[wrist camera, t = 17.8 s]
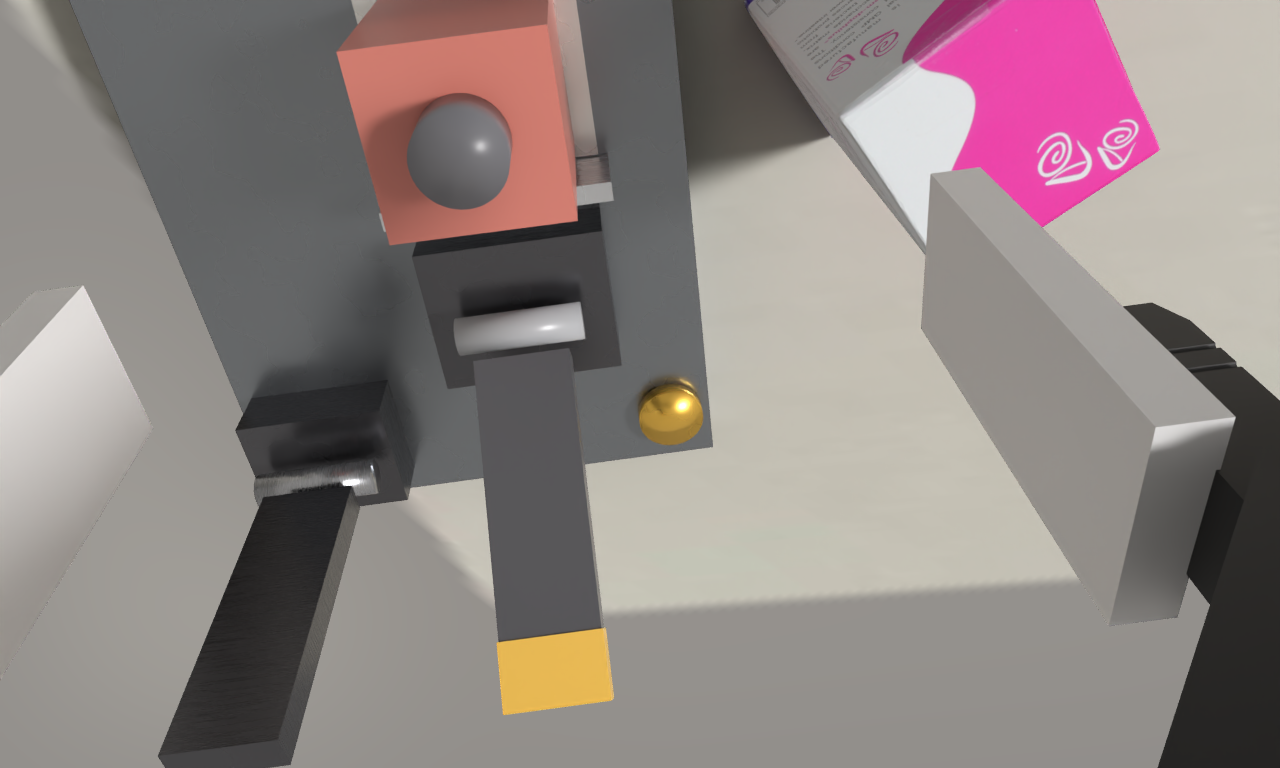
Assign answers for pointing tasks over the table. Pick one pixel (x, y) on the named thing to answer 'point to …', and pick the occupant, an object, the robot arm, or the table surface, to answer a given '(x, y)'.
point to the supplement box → (965, 95)
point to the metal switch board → (384, 300)
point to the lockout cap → (462, 116)
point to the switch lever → (538, 510)
